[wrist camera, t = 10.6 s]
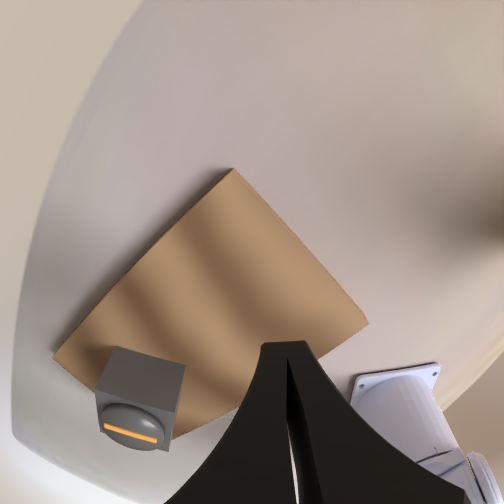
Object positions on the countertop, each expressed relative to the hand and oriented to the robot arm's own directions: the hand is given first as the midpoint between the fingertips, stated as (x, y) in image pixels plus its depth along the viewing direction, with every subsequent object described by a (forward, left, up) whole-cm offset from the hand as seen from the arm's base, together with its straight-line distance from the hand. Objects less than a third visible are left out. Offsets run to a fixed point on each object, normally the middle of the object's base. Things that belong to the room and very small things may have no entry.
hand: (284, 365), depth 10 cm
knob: (-10, +9, -9) cm, 16 cm away
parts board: (-7, +6, -10) cm, 14 cm away
